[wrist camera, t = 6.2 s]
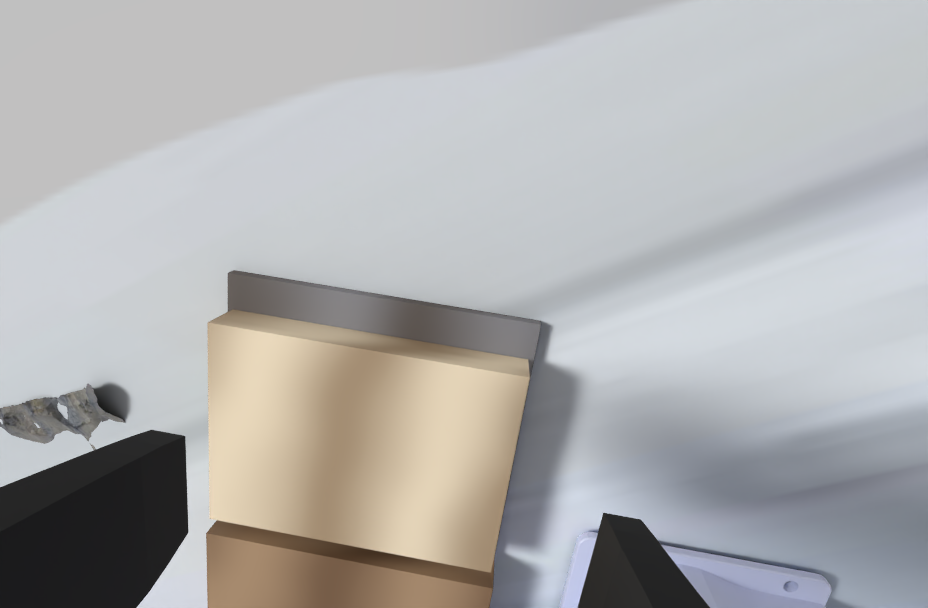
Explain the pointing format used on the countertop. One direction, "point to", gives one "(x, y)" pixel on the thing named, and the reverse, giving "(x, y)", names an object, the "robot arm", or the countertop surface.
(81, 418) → the driftwood
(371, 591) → the floor row
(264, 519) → the plank
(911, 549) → the countertop surface
